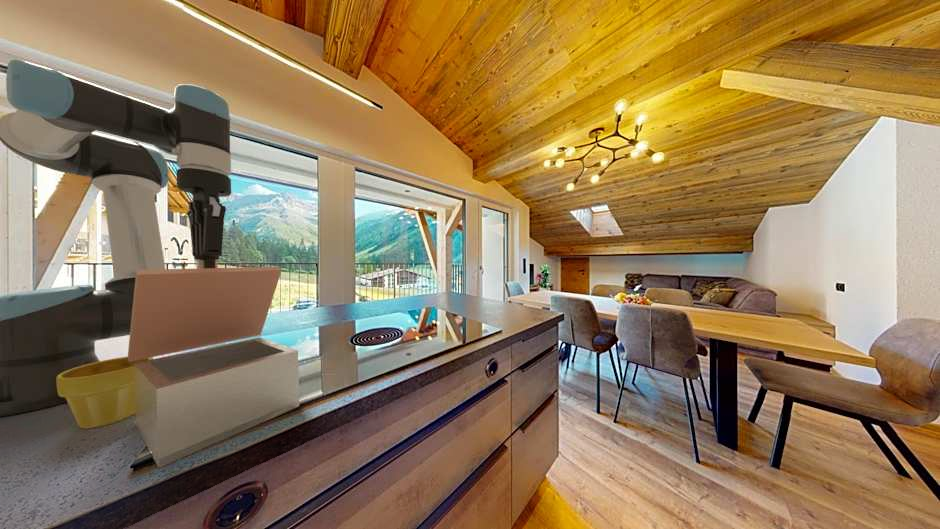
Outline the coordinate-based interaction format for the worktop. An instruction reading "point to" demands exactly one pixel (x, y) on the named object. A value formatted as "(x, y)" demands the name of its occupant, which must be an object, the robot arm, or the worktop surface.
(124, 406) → the plant pot
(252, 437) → the worktop surface
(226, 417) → the box body
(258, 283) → the lid
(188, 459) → the worktop surface
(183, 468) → the worktop surface
